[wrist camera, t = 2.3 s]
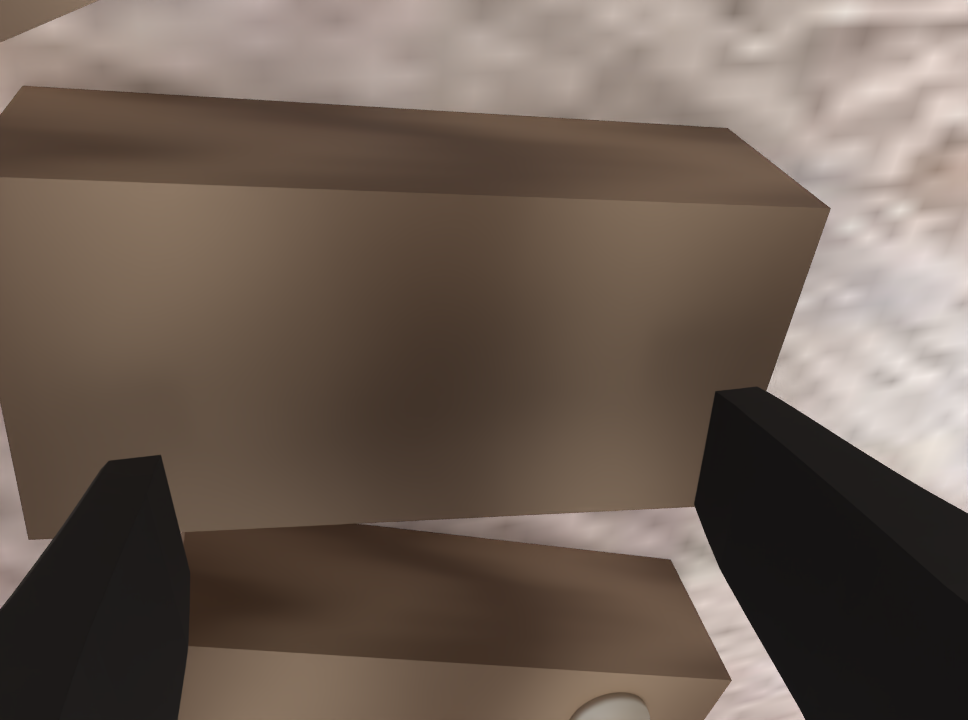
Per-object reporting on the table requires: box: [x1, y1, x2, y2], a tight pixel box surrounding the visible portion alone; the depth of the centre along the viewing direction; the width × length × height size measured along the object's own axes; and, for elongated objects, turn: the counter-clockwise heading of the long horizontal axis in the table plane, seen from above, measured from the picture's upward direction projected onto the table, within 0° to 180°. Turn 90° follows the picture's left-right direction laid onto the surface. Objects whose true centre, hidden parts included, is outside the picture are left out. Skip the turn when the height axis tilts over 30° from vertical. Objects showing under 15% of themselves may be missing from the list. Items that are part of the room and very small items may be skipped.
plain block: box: [0, 86, 831, 540], centre depth 15 cm, size 12×6×4 cm, turn 83°
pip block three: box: [178, 524, 732, 720], centre depth 21 cm, size 12×6×4 cm, turn 71°
